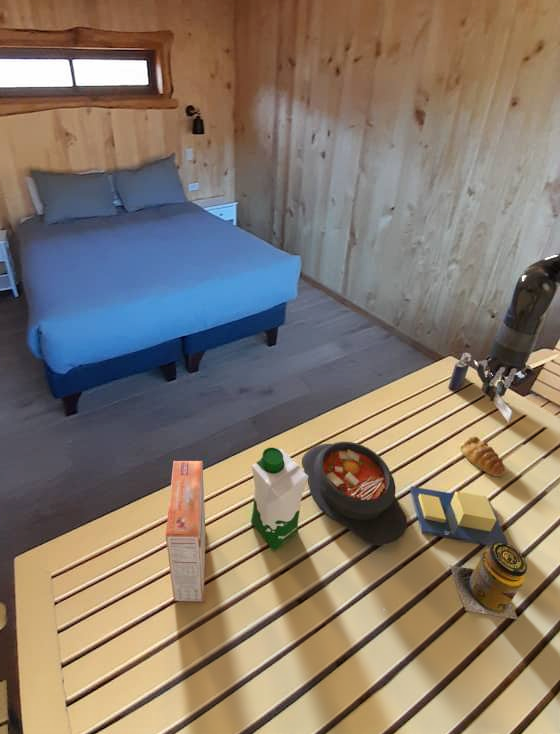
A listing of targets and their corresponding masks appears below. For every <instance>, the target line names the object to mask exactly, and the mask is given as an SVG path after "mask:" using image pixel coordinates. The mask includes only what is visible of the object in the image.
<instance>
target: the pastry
mask: <svg viewBox="0 0 560 734" xmlns="http://www.w3.org/2000/svg"><path fill="white" fill-rule="evenodd" d="M459 448H460V451H461V453H462V455H463V456H464V457H465V458H466V459H467V460H468V461H469V462H470V463H472V464H473V465H475V467H477V468H479V469H480V470H481V471H483V472H484V473H486V474H489V475H490V476H491V475H492V476H493V477H500V476H502V475H503V474H504V473H506V467H505V465H504V463H503V460H502V459H501V458H500V457H499V454H498V453H497V452H495V450H494V448H493V447H492V446H489V444H488V443H487V442H486V440H481V439H480V438H479V437H478V436H475V435H474V436H470V437H468V438H467V439H465V440H464V441H463V442H461V444H460V445H459Z"/></svg>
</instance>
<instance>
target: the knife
mask: <svg viewBox="0 0 560 734" xmlns="http://www.w3.org/2000/svg"><path fill="white" fill-rule="evenodd" d="M483 385H484V383H483V382H482V385H481V389H480V391H481V392H482V394H483V395H484V396H485V397H486V399H487V400H488V401H489V402H492V403H493V404H494V406H495V407H496V408H497V409H498V411H499V412H500V413H501V415H502V416H503V417H504V419H505V420H506V421H507V422H508V423H510V422H511V420H512V417H513V413H514V411H513V410H512V409H511V407H509V405H508V404H507V402H506V401H505V400H504V399H503V398H502V397H500V391H499V390H498V389H497V388H496V387H497V385H496V384H494V388H493V391H492V392H491V395H490V396H486V395H485V393H484V392H483V390H482V388H483Z"/></svg>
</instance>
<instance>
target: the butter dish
mask: <svg viewBox="0 0 560 734" xmlns="http://www.w3.org/2000/svg"><path fill="white" fill-rule="evenodd" d="M409 491H410V495H411V498H412V502H413V506H414V510H415V514H416V517H417V522H418V524H419V528H421V529H420V532H421V534H424V533H426V534H425V535H429V534H430V535H429V536H435V537H440V538H446V539H450V538H451V540H455V541H462V542H466V543H472V544H476V545H481V546H486V547H487V546H488V547H490V545H492V543H494V542H498V541H499V542H505V543H507V544H509V542H508V539H507V537H506V534H505V532H504V530H503V528H502V526H501V523H500V521H499V519H498V516H497V515H496V512H495V510H494V507H493V506H492V502H491V501H490V499H488V497H487V496H485V495H480V494H475V493H468V492H463V491H456V490H455V491H454V493H451V492H446V491H440V490H435V489H428V488H422V487H417V486H410V488H409ZM419 494H424V495H429V496H434V497H439V499H440V502H441V505H442V508H443V511H444V514H445V517H446V521H445V523H443V522H438V521H433V520H428V519H424V516H423V512H422V509H421V505H420V502H419V498H418V496H419Z"/></svg>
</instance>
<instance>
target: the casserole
mask: <svg viewBox="0 0 560 734" xmlns="http://www.w3.org/2000/svg"><path fill="white" fill-rule="evenodd" d="M301 466H302V470H303V471H304V472H305V473H306V474H307V475H308V479H307V483H308V488H309V492H310V495H311V497H312V499H313V501H314V502H315V504H316V505H317V507H318V509H320V510H321V512H322V513H323V514H324V515H326V516H327V517H328V518H329V519H331V520H332V521H333V522H335V523H337V524H338V525H340V526H342V527H344V528H346V529H347V530H349V531H351V532H352V533H353V534H354V535H355V536H356V537H358V538H359V539H360V540H362V541H363V542H365V543H366V544H369V545H372V546H387V545H391V544H393V543H395V542H397V541H398V540H399V539H400V538H402V536H403V535H404V534H405V532H406V531H407V527H408V524H409V523H408V517H407V515H406V514H405V512H404V510H403V508H402V507H401V505H400V504H399V501H398V500H397V497H396V490H397V489H396V488H397V487H396V483H395V479H394V476H393V474H392V472H391V470H390V468H389V467H388V465H387V463H386V462H385V460H384V459H382V457H381V456H380V455H379V454H378V453H376V452H375V451H373V450H372V449H370V448H369V447H367V446H364V445H363V444H360V443H356V442H353V441H337V442H334V443H323V444H322V443H321V444H319V445H316V446H313V447H311V448H310V449H308V450H307V451H306V452H305V453H304V455H303V456H302V458H301Z"/></svg>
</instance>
